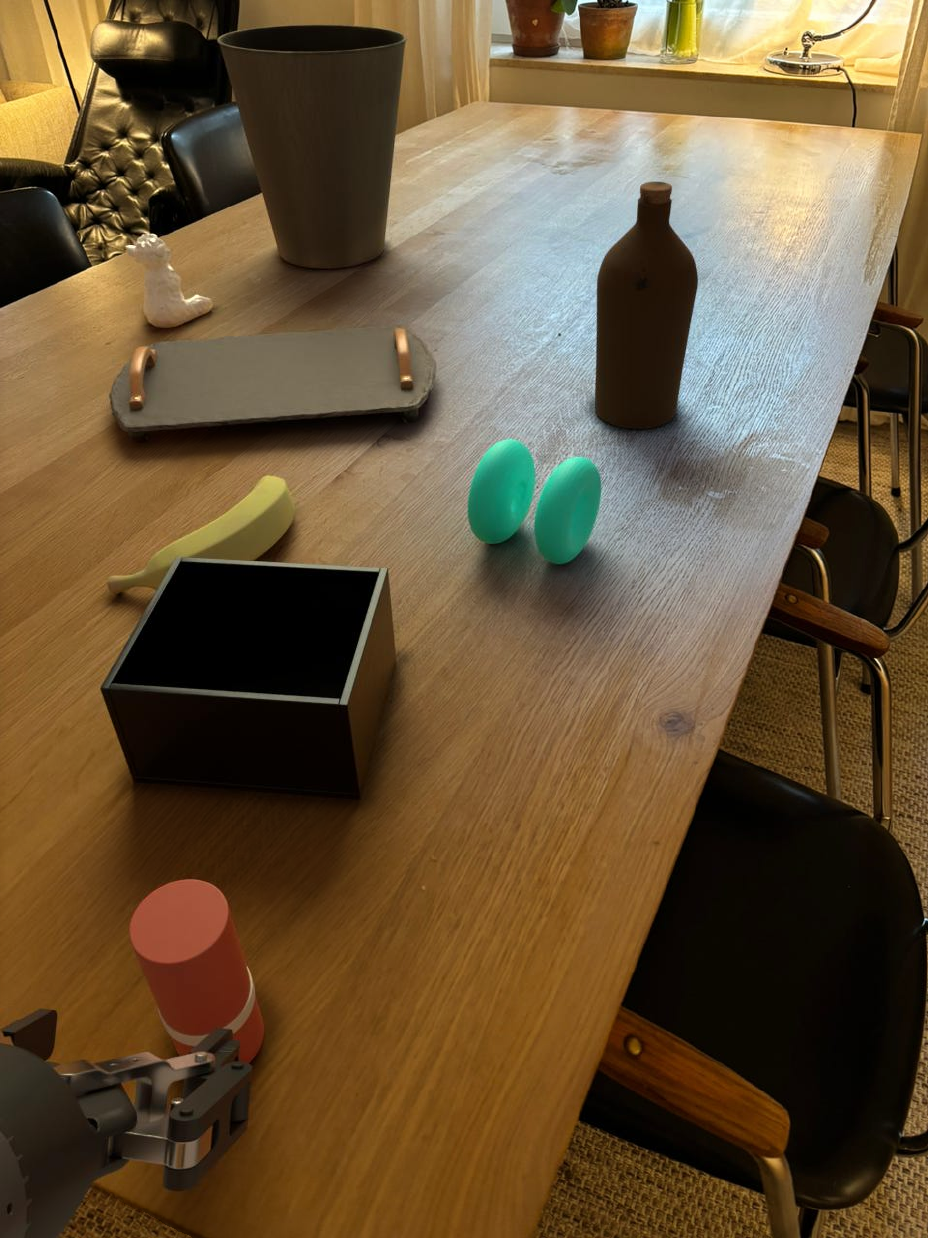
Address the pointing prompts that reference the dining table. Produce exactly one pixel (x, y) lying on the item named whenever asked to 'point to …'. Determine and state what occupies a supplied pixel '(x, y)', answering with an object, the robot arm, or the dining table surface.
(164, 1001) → the striped red cylinder
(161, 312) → the white creature statuette
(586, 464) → the green wheel pair
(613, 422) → the olive oil
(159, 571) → the banana
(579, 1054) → the dining table surface
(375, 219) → the waste basket
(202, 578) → the bin
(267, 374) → the serving tray
